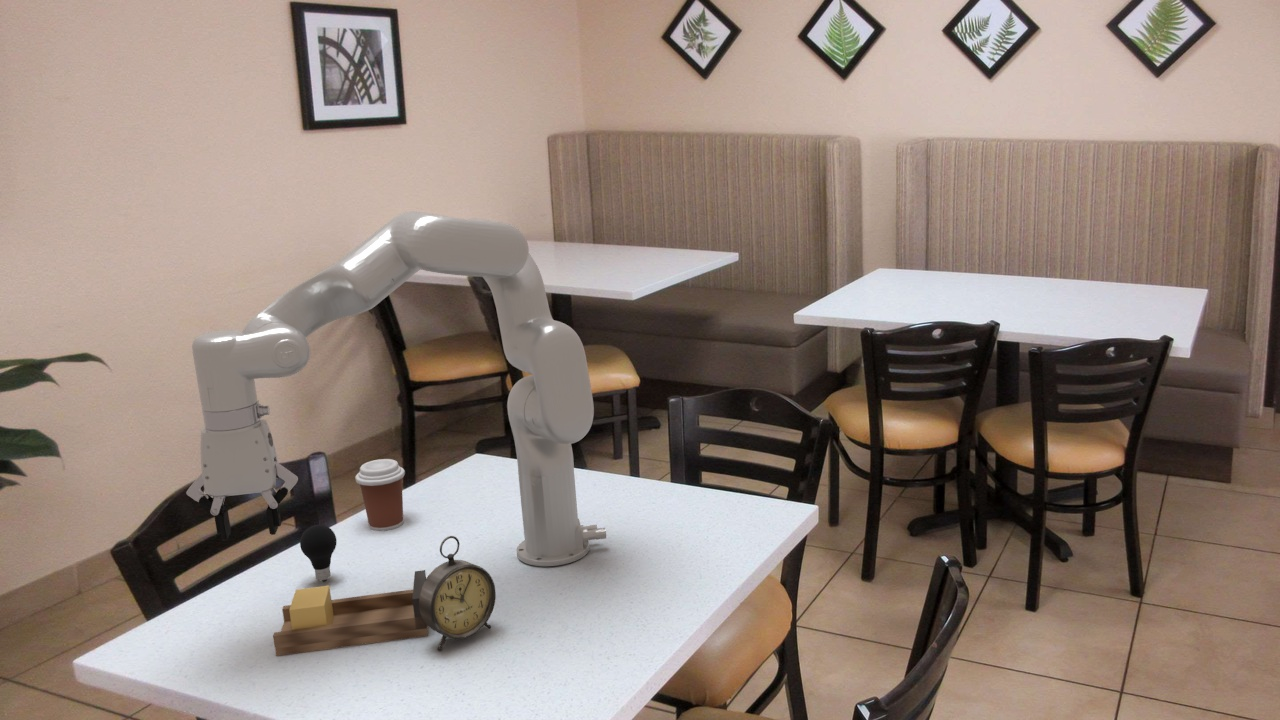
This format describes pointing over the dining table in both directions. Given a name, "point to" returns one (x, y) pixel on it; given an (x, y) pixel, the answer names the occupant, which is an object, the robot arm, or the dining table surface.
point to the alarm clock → (457, 598)
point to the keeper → (311, 608)
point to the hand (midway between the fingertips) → (250, 533)
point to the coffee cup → (382, 493)
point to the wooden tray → (359, 622)
